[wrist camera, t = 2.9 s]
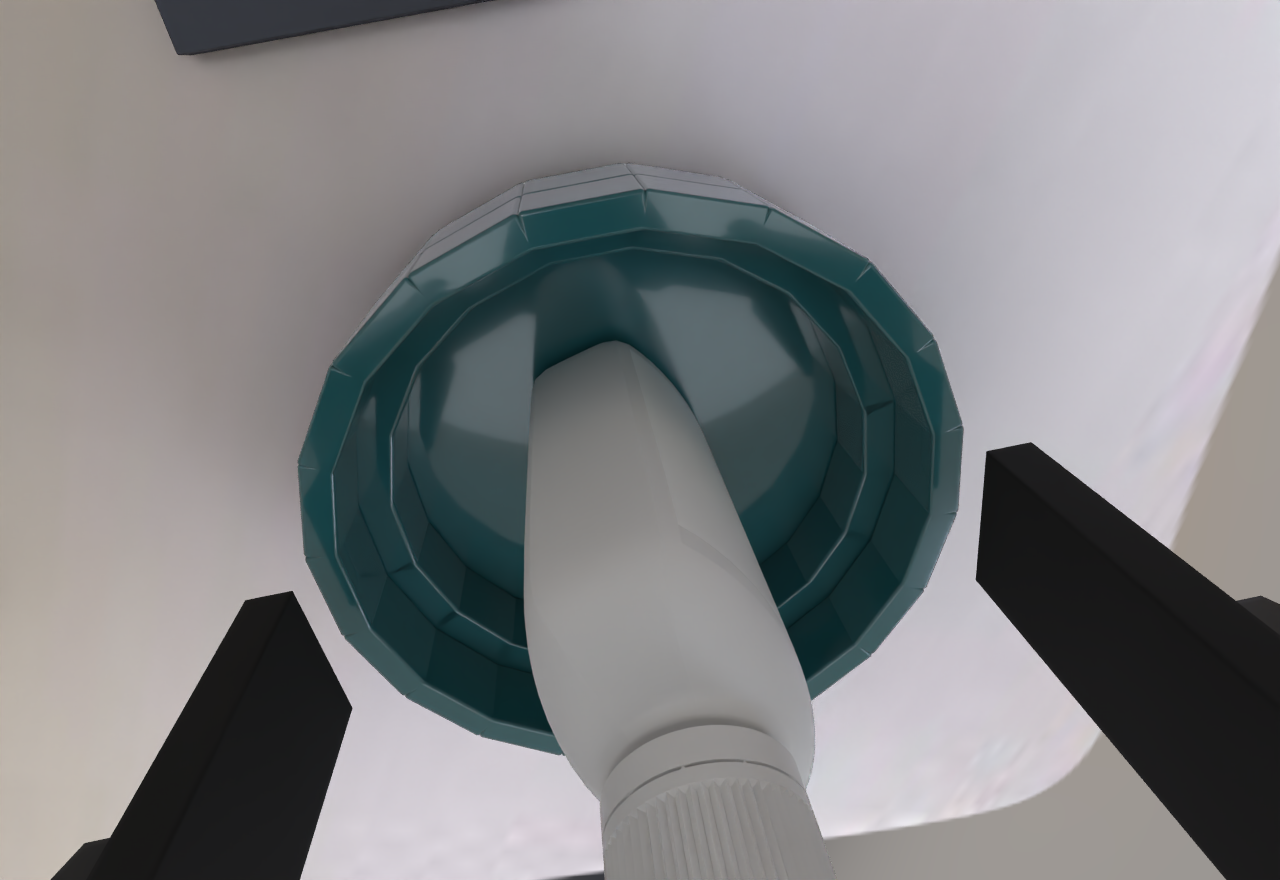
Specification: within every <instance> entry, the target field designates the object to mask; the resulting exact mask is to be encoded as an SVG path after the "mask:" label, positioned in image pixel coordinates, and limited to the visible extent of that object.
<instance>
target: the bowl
mask: <svg viewBox="0 0 1280 880" xmlns="http://www.w3.org/2000/svg"><path fill="white" fill-rule="evenodd" d="M615 340H617V341H620V342H623V343H626V344H629V345H630V346H632V347H633V348H635V349H636V350H637V351H639V352H640V353H642V354H643V355H644V356H645V357H646V358H647V359H649V360H650V361H651V362H652V363H653V364H654V365H655V366H656V367H657V368H658V369H659V370H660V371H661V372H662V373H663V374H664V375H665V376H666V377H667V378H668V379H669V380H670V382H671V383H672V384H673V385H674V386H675V388H676V389H677V390H678V391H679V393H680V394H681V396H682V397H683V398H684V400H685V401H686V403H687V404H688V406H689V407H690V409H691V411H692V412H693V414H694V416H695V418H696V420H697V422H698V424H699V425H700V427H701V429H702V432H703V434H704V436H705V439H706V441H707V443H708V446H709V448H710V450H711V453H712V455H713V457H714V460H715V462H716V464H717V467H718V469H719V472H720V474H721V476H722V479H723V481H724V483H725V486H726V488H727V490H728V493H729V495H730V498H731V500H732V502H733V505H734V507H735V509H736V512H737V514H738V516H739V519H740V521H741V524H742V526H743V528H744V531H745V533H746V535H747V538H748V540H749V543H750V545H751V547H752V550H753V552H754V554H755V557H756V559H757V561H758V564H759V566H760V569H761V571H762V573H763V576H764V578H765V580H766V583H767V585H768V588H769V590H770V592H771V595H772V597H773V599H774V602H775V604H776V607H777V609H778V611H779V614H780V616H781V619H782V621H783V623H784V626H785V628H786V631H787V633H788V635H789V638H790V640H791V642H792V645H793V647H794V650H795V652H796V655H797V657H798V660H799V663H800V665H801V668H802V671H803V674H804V677H805V680H806V683H807V687H808V691H809V694H810V699H811V701H812V700H813V699H814V698H816V697H817V696H818V695H820V694H821V693H822V692H824V691H825V690H826V689H828V688H829V687H830V686H832V685H833V684H834V683H836V682H837V681H838V680H840V679H841V678H842V677H844V676H845V675H846V674H848V673H849V672H850V671H852V670H853V669H854V668H856V667H857V666H858V665H860V664H861V663H862V662H864V661H865V660H866V659H868V658H869V657H870V656H871V653H874V652H875V651H876V650H877V649H878V647H879V646H880V645H881V644H882V642H883V641H884V640H885V639H886V637H887V636H888V635H889V634H890V633H891V631H892V630H893V629H894V628H895V626H896V625H897V624H898V623H899V621H900V620H901V619H902V618H903V616H904V615H905V614H906V613H907V612H908V610H909V609H910V608H911V607H912V605H913V604H914V603H915V602H916V600H917V599H918V598H919V597H920V595H921V594H922V593H923V591H924V588H926V587H927V584H928V582H929V579H930V577H931V575H932V572H933V570H934V567H935V565H936V563H937V560H938V558H939V555H940V553H941V551H942V548H943V546H944V543H945V541H946V539H947V536H948V534H949V531H950V529H951V527H952V524H953V522H954V520H955V517H956V512H957V511H958V505H959V489H960V474H961V459H962V443H963V426H962V420H961V417H960V414H959V411H958V408H957V405H956V401H955V398H954V395H953V392H952V389H951V386H950V383H949V379H948V376H947V373H946V370H945V367H944V364H943V361H942V357H941V354H940V351H939V348H938V345H937V342H936V340H935V339H934V337H933V334H932V333H931V332H930V331H929V329H928V328H927V327H926V326H925V325H924V323H923V322H922V321H921V320H920V319H919V318H918V316H917V315H916V314H915V313H914V312H913V310H912V309H911V308H910V307H909V306H908V304H907V303H906V302H905V301H904V300H903V298H902V297H901V296H900V295H899V294H898V292H897V291H896V290H895V289H894V288H893V287H892V285H891V284H890V283H889V282H888V281H887V279H886V278H885V277H884V276H883V275H882V273H881V272H880V271H879V270H878V269H877V267H876V266H875V265H874V264H873V263H872V262H870V261H869V260H868V258H866V257H864V256H863V255H861V254H859V253H858V252H856V251H854V250H853V249H851V248H849V247H848V246H846V245H844V244H843V243H841V242H839V241H838V240H836V239H834V238H833V237H831V236H829V235H828V234H826V233H824V232H823V231H821V230H819V229H818V228H816V227H814V226H813V225H811V224H809V223H808V222H806V221H804V220H802V219H801V218H799V217H797V216H795V215H793V214H791V213H790V212H788V211H786V210H784V209H782V208H780V207H778V206H777V205H775V204H773V203H771V202H769V201H767V200H766V199H764V198H762V197H760V196H758V195H756V194H755V193H753V192H751V191H749V190H747V189H745V188H743V187H742V186H740V185H738V184H736V183H734V182H732V181H731V180H729V179H724V178H722V177H720V176H713V175H707V174H700V173H693V172H687V171H680V170H674V169H667V168H660V167H654V166H647V165H640V164H634V163H626V164H623V163H618V164H613V165H607V166H602V167H597V168H592V169H586V170H581V171H576V172H570V173H565V174H560V175H554V176H549V177H544V178H538V179H533V180H528V181H526V182H525V183H519V184H518V185H516V186H514V187H512V188H511V189H509V190H507V191H505V192H504V193H502V194H500V195H498V196H497V197H495V198H493V199H492V200H490V201H488V202H486V203H485V204H483V205H481V206H479V207H478V208H476V209H474V210H472V211H471V212H469V213H467V214H465V215H464V216H462V217H460V218H459V219H457V220H455V221H453V222H452V223H450V224H448V225H446V226H445V227H443V228H441V229H439V230H438V231H437V232H436V234H434V235H432V236H431V237H430V239H429V240H428V241H427V242H426V243H425V245H424V246H423V247H422V248H421V249H420V251H419V252H418V253H417V254H416V255H415V256H414V258H413V259H412V260H411V261H410V262H409V264H408V265H407V266H406V267H405V268H404V270H403V271H402V272H401V273H400V274H399V275H398V277H397V278H396V279H395V280H394V281H393V283H392V284H391V285H390V286H389V287H388V289H387V290H386V291H385V292H384V293H383V294H382V296H381V297H380V298H379V299H378V300H377V302H376V303H375V304H374V306H373V307H372V308H371V310H370V311H369V312H368V314H367V315H366V317H365V318H364V319H363V321H362V322H361V323H360V325H359V326H358V328H357V329H356V330H355V332H354V333H353V334H352V336H351V337H350V338H349V340H348V341H347V342H346V344H345V345H344V347H343V348H342V349H341V351H340V352H339V353H338V355H337V356H336V357H335V359H334V360H333V362H332V364H331V365H330V367H329V369H328V372H327V375H326V378H325V381H324V384H323V386H322V389H321V392H320V395H319V398H318V401H317V404H316V407H315V410H314V413H313V416H312V419H311V422H310V425H309V428H308V431H307V434H306V437H305V440H304V443H303V446H302V449H301V452H300V455H299V458H298V480H299V494H300V508H301V522H302V535H303V549H304V555H305V556H306V557H305V560H306V562H307V564H308V567H309V569H310V571H311V573H312V575H313V577H314V579H315V581H316V583H317V585H318V587H319V589H320V591H321V593H322V595H323V597H324V599H325V601H326V603H327V605H328V607H329V610H330V612H331V614H332V616H333V618H334V620H335V622H336V624H337V626H338V628H339V630H340V632H341V634H342V635H343V636H344V637H345V639H346V640H347V641H348V642H349V643H350V644H351V645H352V646H353V647H354V648H355V649H356V650H357V651H358V652H359V653H360V654H361V655H362V656H363V657H364V658H365V659H366V660H367V661H368V662H369V663H370V664H371V665H372V666H373V667H374V668H375V669H376V670H377V671H378V672H379V673H380V674H381V675H382V676H383V677H384V678H385V679H386V680H387V681H388V682H389V683H390V684H391V685H393V686H394V687H395V688H396V689H397V690H398V691H399V692H400V693H401V694H402V695H405V697H406V698H407V699H409V700H411V701H413V702H415V703H417V704H419V705H421V706H422V707H424V708H426V709H428V710H430V711H432V712H434V713H436V714H438V715H440V716H441V717H443V718H445V719H447V720H449V721H451V722H453V723H455V724H457V725H459V726H460V727H462V728H464V729H466V730H468V731H470V732H472V733H474V734H476V735H480V736H481V737H484V738H488V739H492V740H497V741H501V742H505V743H509V744H514V745H518V746H522V747H526V748H530V749H535V750H539V751H543V752H547V753H551V754H556V755H561V754H562V755H564V756H565V754H564V752H563V751H562V749H561V747H560V746H559V744H558V742H557V739H556V737H555V735H554V733H553V731H552V729H551V727H550V725H549V722H548V720H547V717H546V715H545V712H544V709H543V706H542V704H541V701H540V698H539V695H538V691H537V688H536V684H535V680H534V676H533V672H532V667H531V662H530V657H529V652H528V645H527V637H526V627H525V617H524V540H525V517H526V493H527V470H528V450H529V430H530V411H531V394H532V389H533V386H534V382H535V379H536V378H537V377H538V376H540V375H541V374H542V373H543V372H544V371H545V370H546V369H548V368H550V367H552V366H554V365H556V364H558V363H560V362H562V361H564V360H566V359H568V358H570V357H572V356H574V355H576V354H578V353H580V352H582V351H585V350H587V349H589V348H591V347H593V346H596V345H598V344H600V343H603V342H609V341H615Z"/></svg>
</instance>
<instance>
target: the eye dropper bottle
mask: <svg viewBox="0 0 1280 880" xmlns="http://www.w3.org/2000/svg"><path fill="white" fill-rule="evenodd" d="M524 617H525V627H526V637H527V645H528V652H529V657H530V662H531V667H532V672H533V676H534V680H535V684H536V688H537V691H538V695H539V698H540V701H541V704H542V706H543V709H544V712H545V715H546V717H547V720H548V722H549V725H550V727H551V729H552V731H553V733H554V735H555V737H556V739H557V742H558V744H559V746H560V747H561V749H562V751H563V752H564V754H565V756H566V757H567V759H568V761H569V763H570V764H571V766H572V768H573V769H574V770H575V772H576V773H577V774H578V776H579V777H580V779H581V780H582V781H583V783H584V784H585V785H586V787H587V788H588V789H589V790H590V791H591V792H592V794H593V795H594V796H595V797H596V798H597V799H598V800H599V801H600V816H601V830H602V845H603V859H604V873H605V880H837V877H836V875H835V871H834V869H833V866H832V863H831V860H830V857H829V855H828V852H827V849H826V847H825V843H824V841H823V838H822V835H821V832H820V829H819V826H818V824H817V821H816V818H815V815H814V812H813V810H812V807H811V804H810V801H809V798H808V796H807V793H806V788H807V785H808V782H809V779H810V775H811V771H812V766H813V760H814V751H815V726H814V716H813V708H812V704H811V699H810V694H809V691H808V687H807V683H806V680H805V677H804V674H803V671H802V668H801V665H800V663H799V660H798V657H797V655H796V652H795V650H794V647H793V645H792V642H791V640H790V638H789V635H788V633H787V631H786V628H785V626H784V623H783V621H782V619H781V616H780V614H779V611H778V609H777V607H776V604H775V602H774V599H773V597H772V595H771V592H770V590H769V588H768V585H767V583H766V580H765V578H764V576H763V573H762V571H761V569H760V566H759V564H758V561H757V559H756V557H755V554H754V552H753V550H752V547H751V545H750V543H749V540H748V538H747V535H746V533H745V531H744V528H743V526H742V524H741V521H740V519H739V516H738V514H737V512H736V509H735V507H734V505H733V502H732V500H731V498H730V495H729V493H728V490H727V488H726V486H725V483H724V481H723V479H722V476H721V474H720V472H719V469H718V467H717V464H716V462H715V460H714V457H713V455H712V453H711V450H710V448H709V446H708V443H707V441H706V439H705V436H704V434H703V432H702V429H701V427H700V425H699V424H698V422H697V420H696V418H695V416H694V414H693V412H692V411H691V409H690V407H689V406H688V404H687V403H686V401H685V400H684V398H683V397H682V396H681V394H680V393H679V391H678V390H677V389H676V388H675V386H674V385H673V384H672V383H671V382H670V380H669V379H668V378H667V377H666V376H665V375H664V374H663V373H662V372H661V371H660V370H659V369H658V368H657V367H656V366H655V365H654V364H653V363H652V362H651V361H650V360H649V359H647V358H646V357H645V356H644V355H643V354H642V353H640V352H639V351H637V350H636V349H635V348H633V347H632V346H630V345H629V344H626V343H623V342H620V341H617V340H615V341H609V342H603V343H600V344H598V345H596V346H593V347H591V348H589V349H587V350H585V351H582V352H580V353H578V354H576V355H574V356H572V357H570V358H568V359H566V360H564V361H562V362H560V363H558V364H556V365H554V366H552V367H550V368H548V369H546V370H545V371H544V372H543V373H542V374H541V375H540V376H538V377H537V378H536V379H535V382H534V386H533V389H532V394H531V411H530V430H529V450H528V470H527V493H526V517H525V540H524Z"/></svg>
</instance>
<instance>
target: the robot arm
mask: <svg viewBox="0 0 1280 880" xmlns="http://www.w3.org/2000/svg"><path fill="white" fill-rule="evenodd" d="M976 581H977V582H978V583H979V584H980V585H981V587H982V588H983V589H984V590H985V591H986V593H987V594H988V595H989V596H990V597H991V599H992V600H993V601H994V602H995V603H996V605H997V606H998V607H999V608H1000V609H1001V611H1002V612H1003V613H1004V614H1005V615H1006V617H1007V618H1008V619H1009V620H1010V621H1011V623H1012V624H1013V625H1014V626H1015V627H1016V629H1017V630H1018V631H1019V632H1020V633H1021V635H1022V636H1023V637H1024V638H1025V639H1026V641H1027V642H1028V643H1029V644H1030V645H1031V647H1032V648H1033V649H1034V650H1035V651H1036V653H1037V654H1038V655H1039V656H1040V657H1041V658H1042V660H1043V661H1044V662H1045V663H1046V664H1047V666H1048V667H1049V668H1050V669H1051V670H1052V672H1053V673H1054V674H1055V675H1056V676H1057V678H1058V679H1059V680H1060V681H1061V682H1062V684H1063V685H1064V686H1065V687H1066V688H1067V690H1068V691H1069V692H1070V693H1071V694H1072V696H1073V697H1074V698H1075V699H1076V700H1077V702H1078V703H1079V704H1080V705H1081V706H1082V708H1083V709H1084V710H1085V711H1086V712H1087V714H1088V715H1089V716H1090V717H1091V718H1092V720H1093V721H1094V722H1095V723H1096V724H1097V726H1098V727H1099V728H1100V729H1101V730H1102V732H1103V733H1104V734H1105V735H1106V736H1107V737H1108V739H1109V740H1110V741H1111V742H1112V743H1113V745H1114V746H1115V747H1116V748H1117V749H1118V751H1119V752H1120V753H1121V754H1122V755H1123V757H1124V758H1125V759H1126V760H1127V761H1128V763H1129V764H1130V765H1131V766H1132V767H1133V769H1134V770H1135V771H1136V772H1137V773H1138V775H1139V776H1140V777H1141V778H1142V779H1143V781H1144V782H1145V783H1146V784H1147V785H1148V787H1149V788H1150V789H1151V790H1152V791H1153V793H1154V794H1155V795H1156V796H1157V797H1158V798H1159V800H1160V801H1161V802H1162V803H1163V804H1164V806H1165V807H1166V808H1167V809H1168V811H1169V812H1170V813H1171V814H1172V815H1173V817H1174V818H1175V819H1176V820H1177V821H1178V822H1179V824H1180V825H1181V826H1182V827H1183V828H1184V830H1185V831H1186V832H1187V833H1188V834H1189V836H1190V837H1191V838H1192V839H1193V840H1194V842H1195V843H1196V844H1197V845H1198V846H1199V848H1200V849H1201V850H1202V851H1203V852H1204V854H1205V855H1206V856H1207V857H1208V858H1209V860H1210V861H1211V862H1212V863H1213V864H1214V866H1215V867H1216V868H1217V869H1218V870H1219V872H1220V873H1221V874H1222V875H1223V876H1224V878H1225V879H1226V880H1280V604H1278V603H1276V602H1273V601H1271V600H1269V599H1267V598H1264V597H1263V596H1258V597H1253V598H1248V599H1244V600H1239V601H1235V600H1234V599H1233V598H1231V597H1230V596H1229V595H1227V594H1226V593H1225V592H1224V591H1222V590H1221V589H1220V588H1219V587H1217V586H1216V585H1215V584H1213V583H1212V582H1211V581H1209V580H1208V579H1207V578H1206V577H1204V576H1203V575H1202V574H1200V573H1199V572H1198V571H1196V570H1195V569H1194V568H1193V567H1191V566H1190V565H1189V564H1188V563H1186V562H1185V561H1184V560H1182V559H1181V558H1180V557H1178V556H1177V555H1176V554H1174V553H1173V552H1172V551H1171V550H1169V549H1168V548H1167V547H1166V546H1164V545H1163V544H1162V543H1160V542H1159V541H1158V540H1157V539H1155V538H1154V537H1153V536H1151V535H1150V534H1149V533H1148V532H1146V531H1145V530H1144V529H1142V528H1141V527H1140V526H1139V525H1137V524H1136V523H1135V522H1133V521H1132V520H1131V519H1129V518H1128V517H1127V516H1126V515H1124V514H1123V513H1122V512H1120V511H1119V510H1118V509H1117V508H1115V507H1114V506H1113V505H1111V504H1110V503H1109V502H1108V501H1106V500H1105V499H1104V498H1102V497H1101V496H1100V495H1098V494H1097V493H1096V492H1095V491H1093V490H1092V489H1091V488H1089V487H1088V486H1087V485H1086V484H1084V483H1083V482H1082V481H1080V480H1079V479H1078V478H1077V477H1075V476H1074V475H1073V474H1071V473H1070V472H1069V471H1068V470H1066V469H1065V468H1064V467H1062V466H1061V465H1060V464H1058V463H1057V462H1056V461H1055V460H1053V459H1052V458H1051V457H1049V456H1048V455H1047V454H1046V453H1044V452H1043V451H1042V450H1040V449H1039V448H1038V447H1037V446H1035V445H1034V444H1033V443H1031V442H1030V443H1025V444H1020V445H1015V446H1010V447H1006V448H1001V449H996V450H991V451H986V463H985V475H984V487H983V499H982V511H981V523H980V535H979V547H978V559H977V571H976ZM351 711H352V706H351V704H350V702H349V700H348V698H347V696H346V694H345V693H344V691H343V689H342V687H341V685H340V683H339V681H338V679H337V677H336V675H335V673H334V671H333V669H332V667H331V665H330V663H329V661H328V659H327V657H326V655H325V653H324V651H323V650H322V648H321V646H320V644H319V642H318V640H317V638H316V636H315V634H314V632H313V630H312V628H311V626H310V624H309V622H308V620H307V618H306V616H305V614H304V612H303V610H302V608H301V607H300V605H299V603H298V601H297V599H296V597H295V595H294V593H293V591H289V592H284V593H279V594H274V595H269V596H265V597H260V598H255V599H250V600H245V602H244V604H243V605H242V607H241V609H240V611H239V612H238V614H237V616H236V618H235V619H234V621H233V623H232V625H231V627H230V628H229V630H228V632H227V634H226V635H225V637H224V639H223V641H222V642H221V644H220V646H219V648H218V649H217V651H216V653H215V655H214V656H213V658H212V660H211V662H210V663H209V665H208V667H207V669H206V670H205V672H204V674H203V676H202V677H201V679H200V681H199V683H198V684H197V686H196V688H195V690H194V691H193V693H192V695H191V697H190V698H189V700H188V702H187V704H186V706H185V707H184V709H183V711H182V713H181V714H180V716H179V718H178V720H177V721H176V723H175V725H174V727H173V728H172V730H171V732H170V734H169V735H168V737H167V739H166V741H165V742H164V744H163V746H162V748H161V749H160V751H159V753H158V755H157V756H156V758H155V760H154V762H153V763H152V765H151V767H150V769H149V770H148V772H147V774H146V776H145V777H144V779H143V781H142V783H141V785H140V786H139V788H138V790H137V792H136V793H135V795H134V797H133V799H132V800H131V802H130V804H129V806H128V807H127V809H126V811H125V813H124V814H123V816H122V818H121V820H120V821H119V823H118V825H117V827H116V828H115V830H114V832H113V834H112V835H111V837H110V838H107V839H102V840H98V841H93V842H88V843H84V844H83V846H82V847H81V848H80V849H79V850H78V851H77V852H76V853H75V854H74V855H73V856H72V857H71V858H70V859H69V861H68V862H67V863H66V864H65V865H64V866H63V867H62V868H61V869H60V870H59V871H58V872H57V873H56V874H55V876H54V877H53V878H52V879H51V880H300V877H301V874H302V871H303V868H304V864H305V861H306V858H307V855H308V851H309V848H310V845H311V842H312V838H313V835H314V832H315V829H316V825H317V822H318V819H319V815H320V812H321V809H322V806H323V802H324V799H325V796H326V793H327V789H328V786H329V783H330V780H331V776H332V773H333V770H334V767H335V763H336V760H337V757H338V753H339V750H340V747H341V744H342V740H343V737H344V734H345V731H346V727H347V724H348V721H349V718H350V714H351Z"/></svg>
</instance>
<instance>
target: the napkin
mask: <svg viewBox="0 0 1280 880" xmlns="http://www.w3.org/2000/svg"><path fill="white" fill-rule="evenodd" d="M487 1H493V0H155V2H156V4H157V7H158V9H159V12H160V14H161V16H162V19H163V21H164V24H165V26H166V28H167V31H168V33H169V36H170V38H171V40H172V43H173V45H174V48H175V50H176V52H177V54H178V55H195V54H201V53H206V52H212V51H217V50H223V49H229V48H234V47H240V46H245V45H251V44H256V43H262V42H267V41H273V40H278V39H284V38H289V37H295V36H300V35H306V34H311V33H317V32H322V31H328V30H333V29H339V28H344V27H350V26H355V25H361V24H366V23H372V22H377V21H383V20H388V19H394V18H399V17H405V16H410V15H416V14H421V13H427V12H432V11H438V10H443V9H449V8H454V7H460V6H465V5H471V4H476V3H482V2H487Z"/></svg>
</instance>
